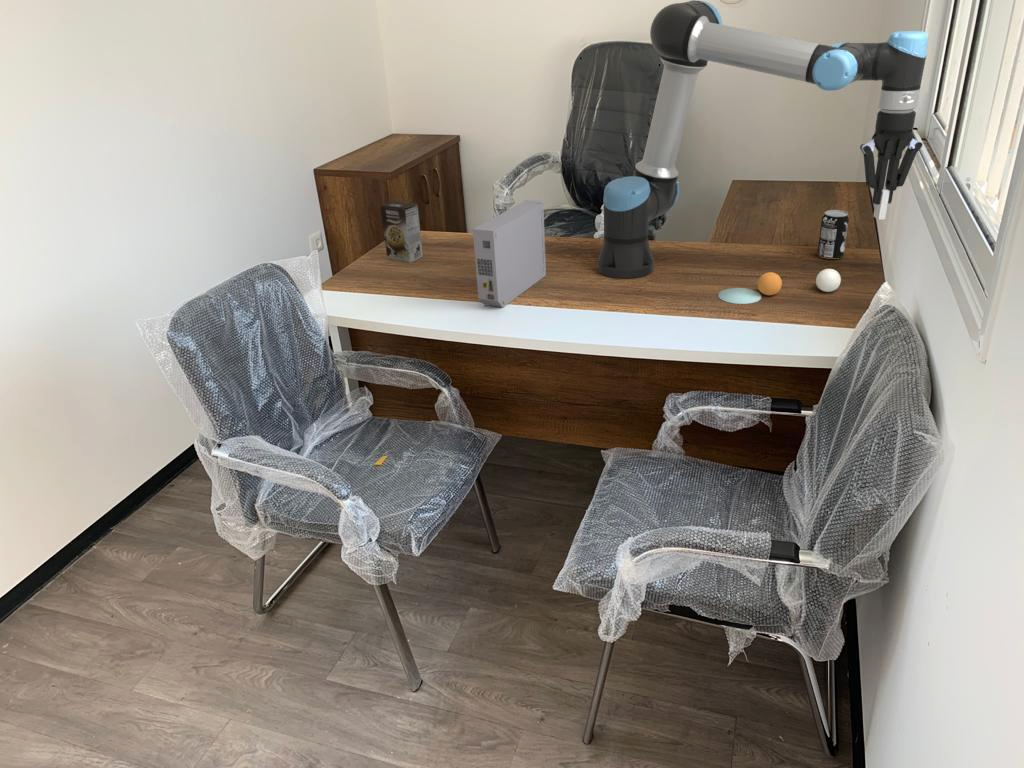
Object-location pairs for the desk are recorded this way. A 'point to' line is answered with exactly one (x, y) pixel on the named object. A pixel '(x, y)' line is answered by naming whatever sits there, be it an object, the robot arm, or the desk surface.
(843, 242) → the beverage can
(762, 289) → the object ball
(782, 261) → the desk surface
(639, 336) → the desk surface
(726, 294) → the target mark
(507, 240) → the game console
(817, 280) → the cue ball
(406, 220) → the coffee box
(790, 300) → the desk surface
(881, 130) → the robot arm
